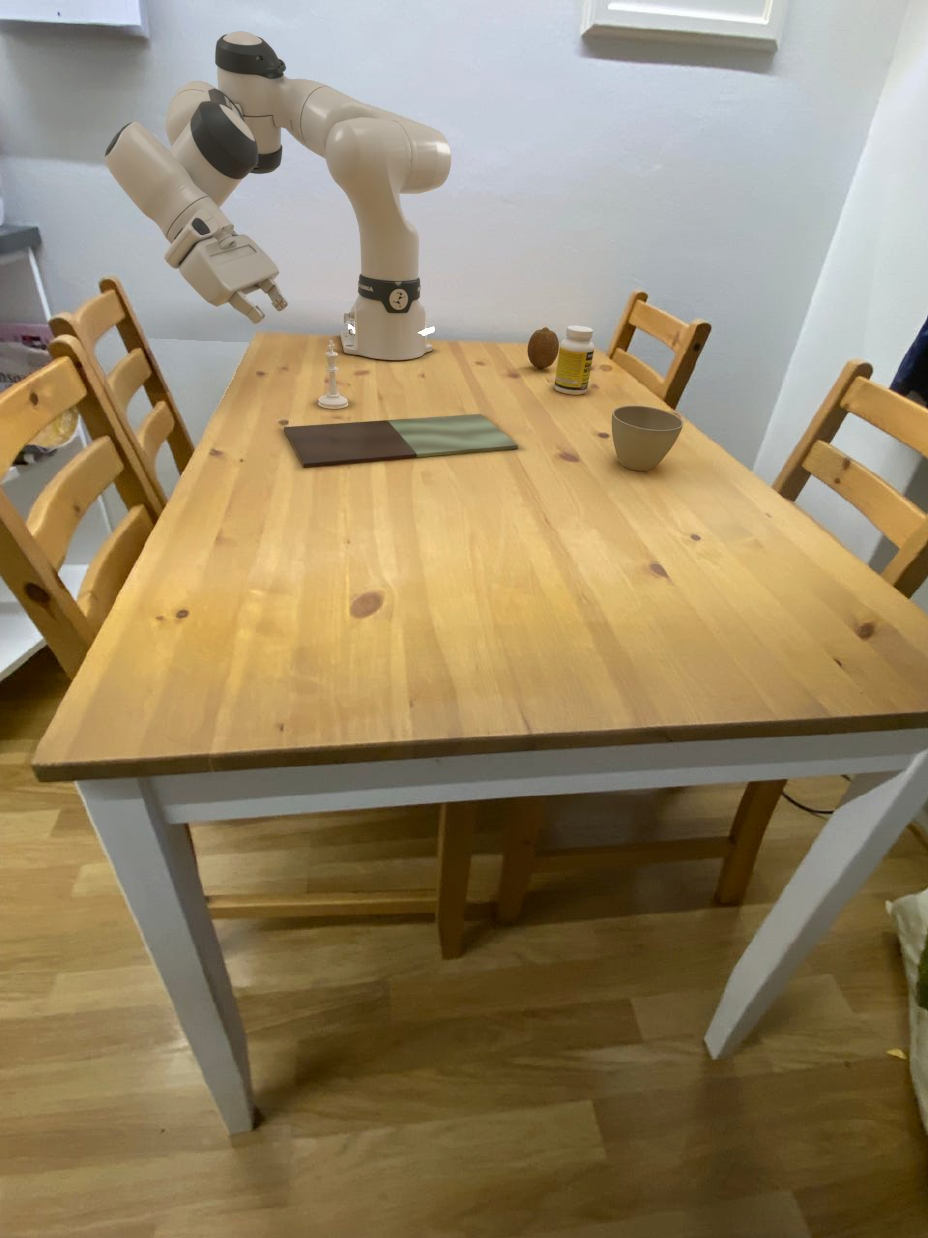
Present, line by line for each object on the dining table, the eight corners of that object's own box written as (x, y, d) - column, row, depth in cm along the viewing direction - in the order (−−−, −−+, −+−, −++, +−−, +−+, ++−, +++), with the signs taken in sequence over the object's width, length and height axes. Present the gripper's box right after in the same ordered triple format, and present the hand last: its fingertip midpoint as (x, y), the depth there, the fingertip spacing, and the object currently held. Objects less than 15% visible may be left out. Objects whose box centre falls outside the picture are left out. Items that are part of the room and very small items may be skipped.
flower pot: (596, 469, 100) (605, 420, 96) (610, 447, 108) (619, 400, 104) (666, 484, 97) (679, 434, 93) (675, 460, 105) (687, 413, 101)
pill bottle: (585, 397, 128) (596, 334, 121) (552, 392, 128) (561, 329, 122) (587, 387, 133) (598, 326, 126) (555, 383, 133) (564, 322, 127)
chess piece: (353, 402, 116) (352, 339, 110) (339, 410, 112) (337, 346, 106) (327, 397, 117) (324, 335, 111) (312, 405, 113) (309, 341, 108)
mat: (283, 430, 103) (283, 426, 103) (480, 417, 115) (480, 413, 114) (303, 467, 93) (303, 463, 93) (517, 448, 104) (518, 444, 104)
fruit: (560, 372, 140) (567, 330, 135) (532, 373, 138) (538, 331, 133) (547, 364, 145) (553, 323, 140) (520, 364, 143) (525, 323, 138)
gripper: (223, 243, 114) (285, 314, 118) (157, 260, 97) (232, 342, 102) (246, 214, 111) (309, 288, 115) (182, 227, 94) (258, 313, 99)
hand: (273, 313), depth 108 cm, fingers open, 8 cm apart
